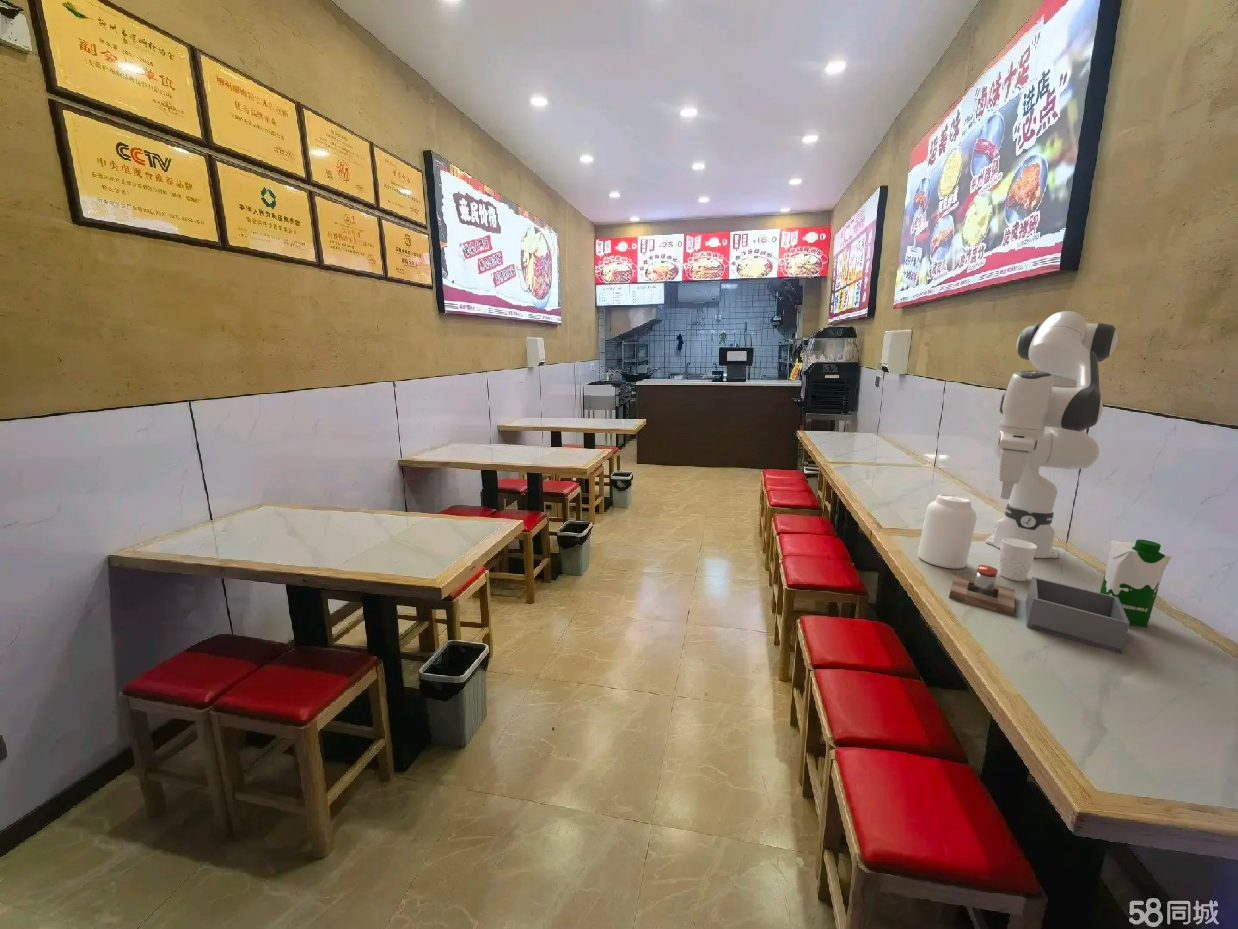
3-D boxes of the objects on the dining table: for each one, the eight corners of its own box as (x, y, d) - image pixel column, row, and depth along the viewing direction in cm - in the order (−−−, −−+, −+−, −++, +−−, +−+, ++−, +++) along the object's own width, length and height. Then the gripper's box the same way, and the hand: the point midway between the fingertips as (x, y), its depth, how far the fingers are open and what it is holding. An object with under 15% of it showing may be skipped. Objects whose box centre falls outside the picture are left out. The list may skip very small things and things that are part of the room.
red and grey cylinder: (972, 592, 134) (978, 563, 132) (991, 597, 131) (997, 568, 130) (971, 597, 131) (977, 568, 129) (990, 602, 128) (997, 573, 126)
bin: (1025, 602, 129) (1032, 576, 128) (1110, 624, 120) (1118, 597, 119) (1026, 626, 117) (1033, 598, 116) (1120, 653, 108) (1129, 623, 106)
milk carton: (1107, 622, 121) (1130, 542, 117) (1087, 605, 130) (1108, 530, 125) (1154, 630, 119) (1180, 549, 114) (1131, 612, 127) (1154, 536, 123)
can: (970, 573, 146) (985, 506, 142) (920, 564, 150) (933, 499, 146) (960, 557, 157) (973, 495, 153) (914, 550, 162) (926, 489, 157)
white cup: (1035, 584, 141) (1043, 550, 139) (1003, 580, 142) (1011, 546, 140) (1019, 572, 148) (1027, 539, 146) (989, 568, 150) (996, 536, 148)
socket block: (953, 581, 140) (955, 574, 139) (1013, 596, 132) (1014, 589, 132) (948, 597, 130) (950, 590, 129) (1012, 615, 122) (1014, 607, 122)
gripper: (1004, 434, 132) (993, 486, 135) (999, 441, 117) (987, 499, 119) (1035, 438, 129) (1023, 491, 131) (1034, 445, 113) (1021, 505, 116)
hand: (1006, 495), depth 125 cm, fingers open, 8 cm apart
